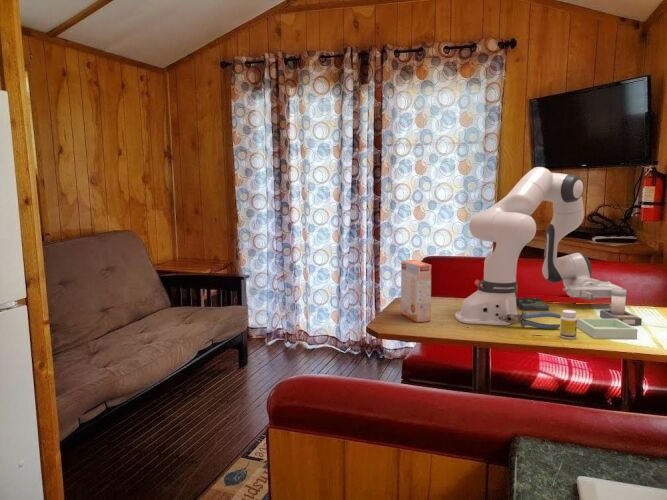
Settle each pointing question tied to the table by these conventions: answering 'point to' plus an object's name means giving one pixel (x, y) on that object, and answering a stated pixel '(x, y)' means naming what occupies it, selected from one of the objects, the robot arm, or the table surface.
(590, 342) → the table surface
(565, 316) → the supplement bottle
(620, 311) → the fuse
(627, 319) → the dark grey tray
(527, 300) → the disk drive
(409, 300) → the cracker box
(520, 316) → the pliers
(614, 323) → the tray
